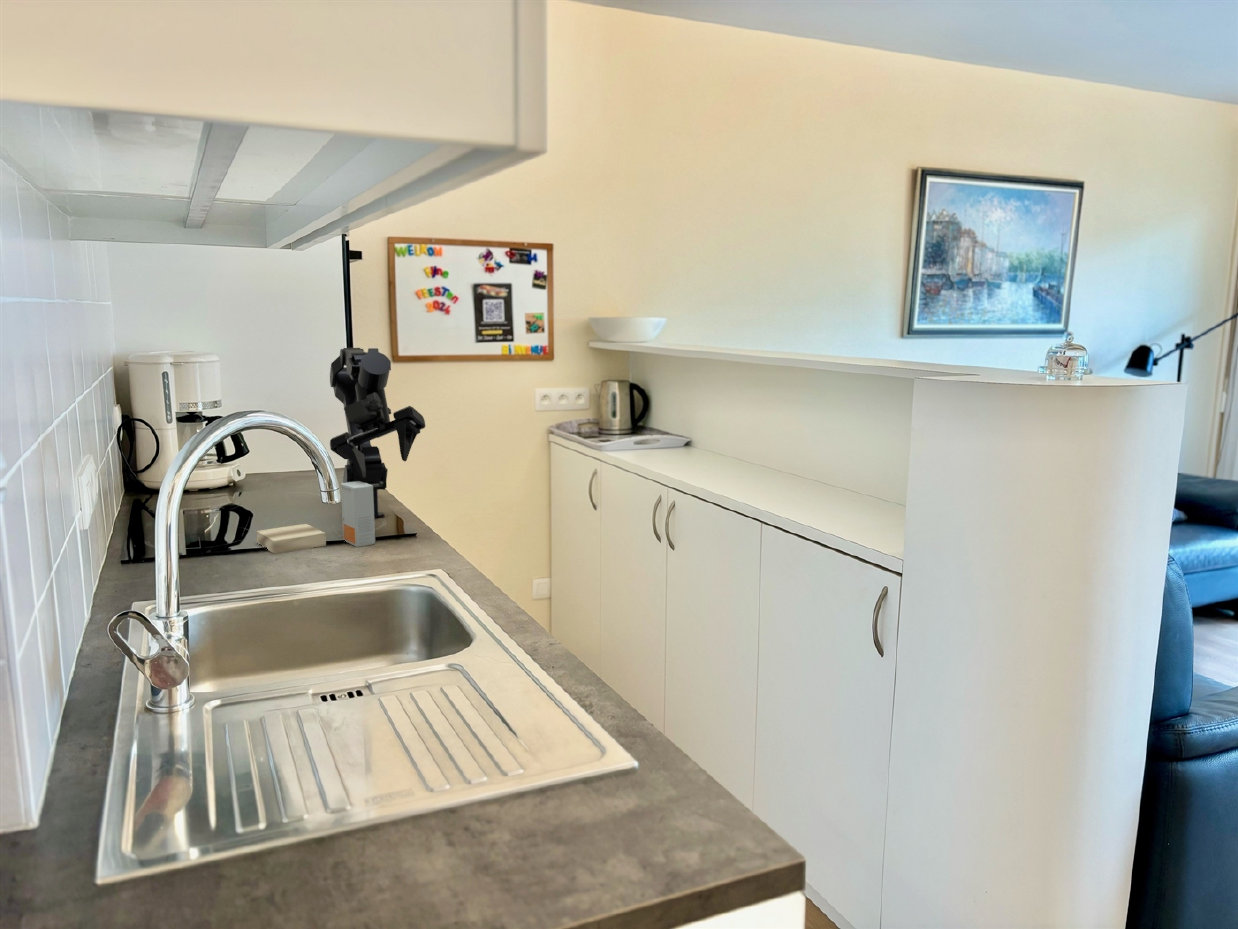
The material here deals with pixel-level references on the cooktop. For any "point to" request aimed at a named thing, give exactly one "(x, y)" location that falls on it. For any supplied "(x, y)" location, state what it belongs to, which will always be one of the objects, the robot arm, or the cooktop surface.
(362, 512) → the skincare box
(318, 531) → the beech block
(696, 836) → the cooktop surface
